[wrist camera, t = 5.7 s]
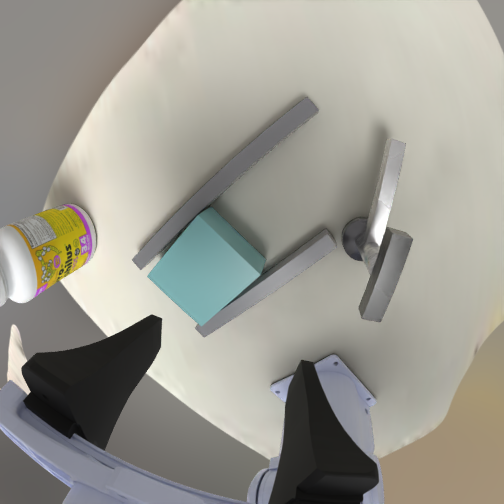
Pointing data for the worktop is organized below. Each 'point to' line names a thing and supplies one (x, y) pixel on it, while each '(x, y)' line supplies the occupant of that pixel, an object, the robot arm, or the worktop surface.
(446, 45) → the worktop surface
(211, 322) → the channel
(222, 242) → the cover
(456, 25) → the worktop surface
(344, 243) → the key socket
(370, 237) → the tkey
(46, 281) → the supplement bottle
